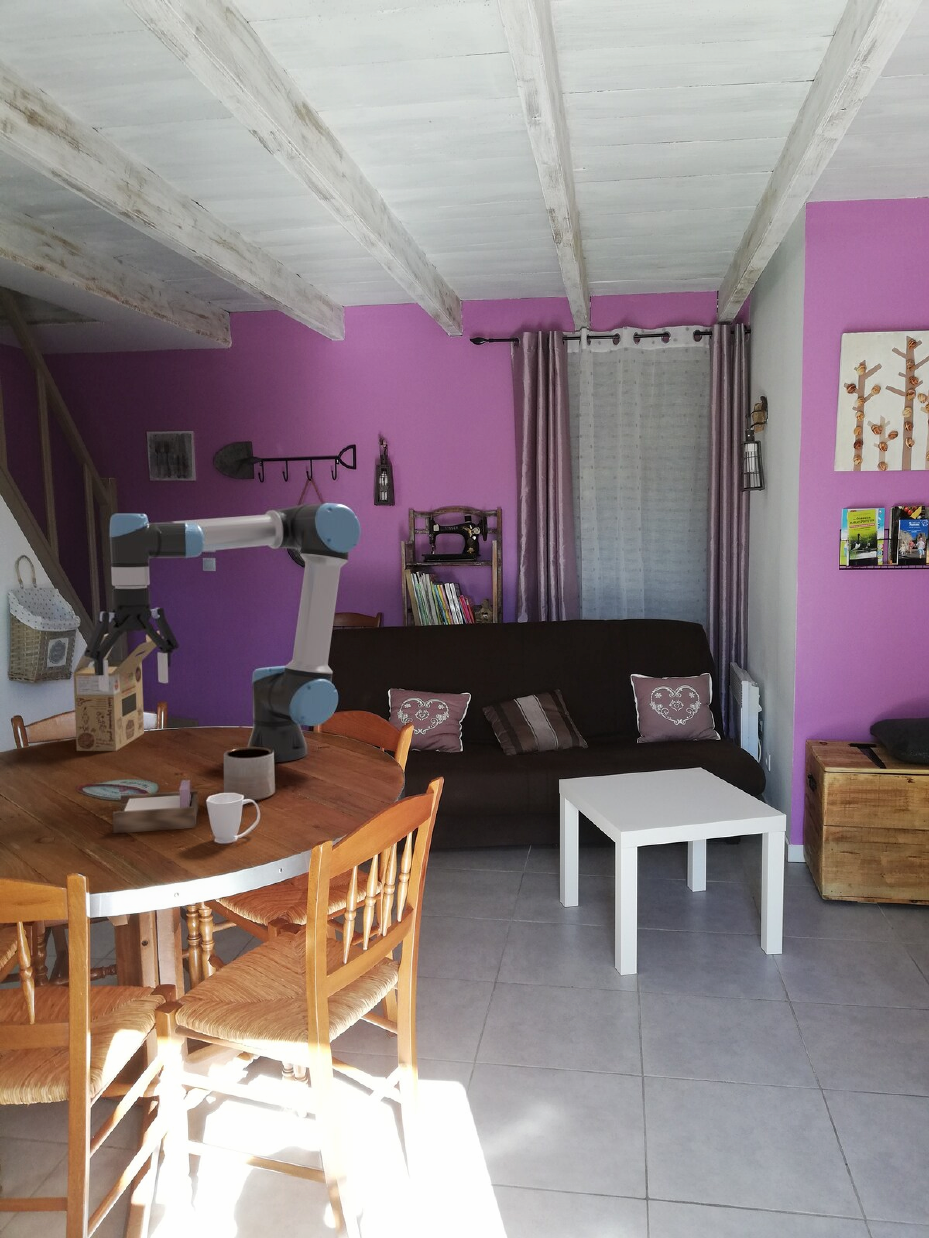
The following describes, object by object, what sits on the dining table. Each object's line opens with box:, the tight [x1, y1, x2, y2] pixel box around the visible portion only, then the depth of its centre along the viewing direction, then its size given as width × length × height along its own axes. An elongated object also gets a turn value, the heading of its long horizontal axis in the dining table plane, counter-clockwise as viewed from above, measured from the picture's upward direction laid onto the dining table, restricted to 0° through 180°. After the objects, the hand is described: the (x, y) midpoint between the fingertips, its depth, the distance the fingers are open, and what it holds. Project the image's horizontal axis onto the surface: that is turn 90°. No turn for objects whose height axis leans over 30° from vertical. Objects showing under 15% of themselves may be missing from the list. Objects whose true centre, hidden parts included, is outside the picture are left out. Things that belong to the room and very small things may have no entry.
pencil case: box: [112, 790, 199, 834], centre depth 183 cm, size 15×12×4 cm
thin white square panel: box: [124, 779, 191, 811], centre depth 183 cm, size 12×10×4 cm
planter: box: [223, 746, 276, 802], centre depth 201 cm, size 11×11×10 cm
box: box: [73, 630, 165, 752], centre depth 249 cm, size 21×20×30 cm
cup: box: [205, 792, 261, 844], centre depth 173 cm, size 7×10×8 cm
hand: (134, 686), depth 196 cm, fingers open, 13 cm apart
